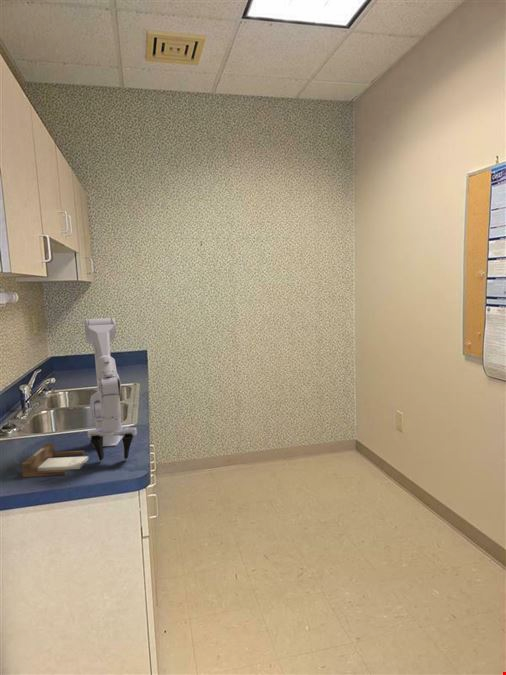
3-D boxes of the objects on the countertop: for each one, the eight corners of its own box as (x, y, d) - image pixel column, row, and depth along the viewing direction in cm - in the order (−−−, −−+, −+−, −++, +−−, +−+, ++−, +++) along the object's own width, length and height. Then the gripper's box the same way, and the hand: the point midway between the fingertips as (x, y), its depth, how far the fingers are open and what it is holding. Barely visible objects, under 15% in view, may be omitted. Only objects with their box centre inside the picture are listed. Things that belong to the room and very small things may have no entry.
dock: (47, 455, 143) (46, 442, 142) (84, 453, 143) (83, 440, 143) (22, 477, 125) (21, 462, 125) (64, 474, 126) (63, 460, 126)
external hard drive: (49, 462, 138) (88, 460, 138) (37, 472, 130) (79, 470, 130) (48, 457, 138) (88, 455, 138) (37, 467, 129) (79, 465, 130)
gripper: (82, 420, 129) (86, 464, 131) (132, 418, 130) (134, 461, 131) (90, 414, 136) (93, 455, 138) (137, 412, 137) (139, 453, 138)
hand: (114, 458), depth 135 cm, fingers open, 7 cm apart
